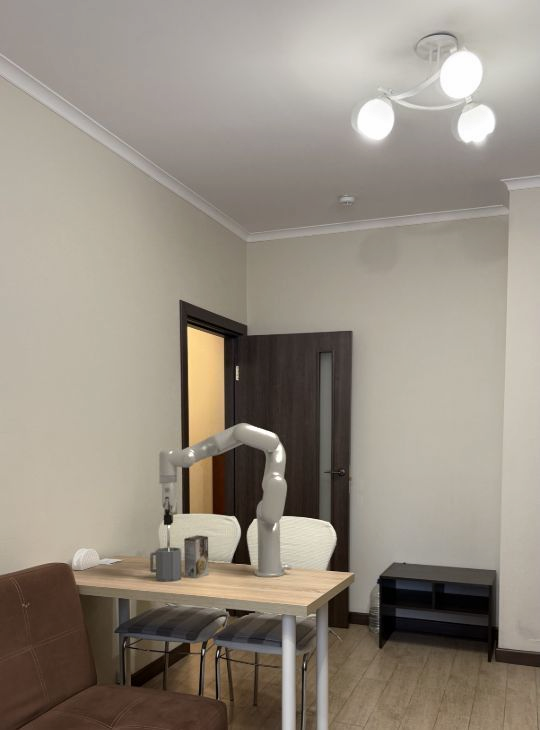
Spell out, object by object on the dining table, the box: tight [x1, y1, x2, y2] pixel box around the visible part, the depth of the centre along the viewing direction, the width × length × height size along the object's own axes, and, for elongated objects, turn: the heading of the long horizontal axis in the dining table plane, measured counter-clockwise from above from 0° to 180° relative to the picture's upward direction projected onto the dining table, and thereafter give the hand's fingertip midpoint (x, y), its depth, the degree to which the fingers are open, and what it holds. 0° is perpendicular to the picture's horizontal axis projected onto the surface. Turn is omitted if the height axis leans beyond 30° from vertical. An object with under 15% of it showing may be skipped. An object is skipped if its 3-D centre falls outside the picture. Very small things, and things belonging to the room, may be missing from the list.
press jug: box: [149, 546, 182, 583], centre depth 289 cm, size 13×10×12 cm
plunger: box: [162, 512, 174, 552], centre depth 290 cm, size 8×8×16 cm
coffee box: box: [183, 534, 210, 579], centre depth 294 cm, size 9×6×16 cm
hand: (168, 523), depth 290 cm, fingers closed on plunger, 4 cm apart
